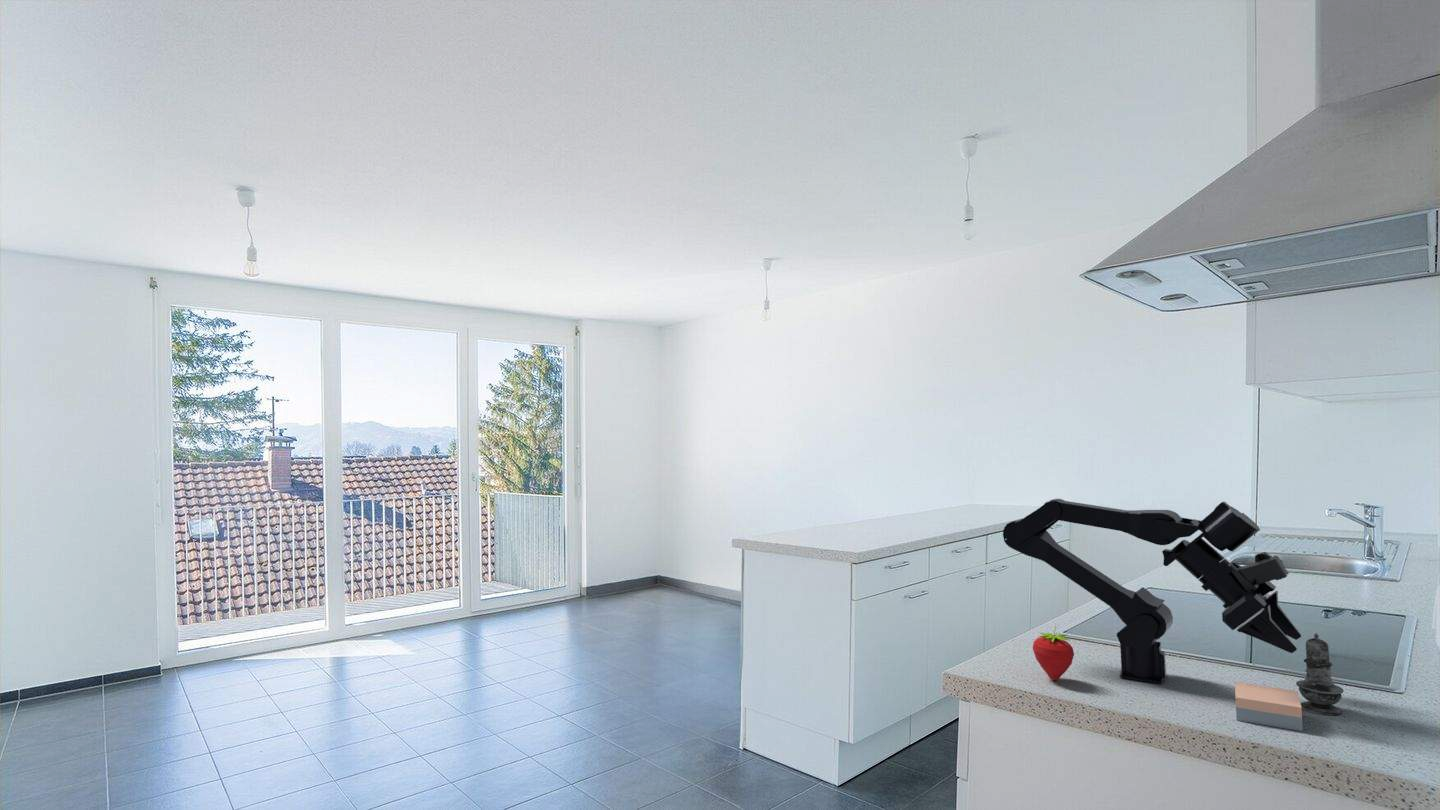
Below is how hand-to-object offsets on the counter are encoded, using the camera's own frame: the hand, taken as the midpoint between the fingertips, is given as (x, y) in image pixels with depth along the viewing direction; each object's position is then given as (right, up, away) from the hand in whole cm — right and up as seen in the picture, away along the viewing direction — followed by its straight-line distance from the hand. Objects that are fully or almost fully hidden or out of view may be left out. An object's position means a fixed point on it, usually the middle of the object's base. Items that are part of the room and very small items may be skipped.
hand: (1296, 644), depth 117 cm
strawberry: (-33, -11, +14) cm, 38 cm away
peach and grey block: (-8, -10, -5) cm, 14 cm away
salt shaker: (+2, -10, -2) cm, 10 cm away
